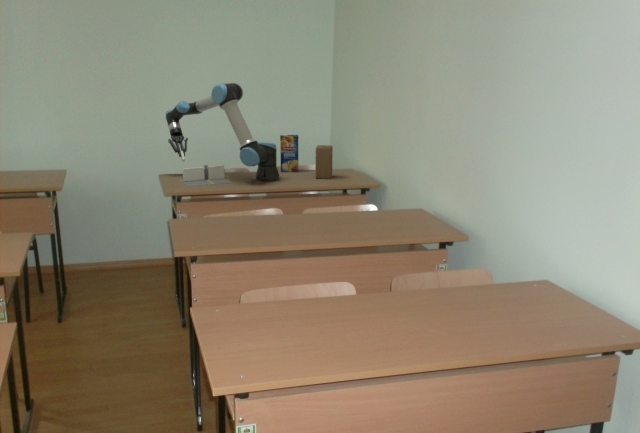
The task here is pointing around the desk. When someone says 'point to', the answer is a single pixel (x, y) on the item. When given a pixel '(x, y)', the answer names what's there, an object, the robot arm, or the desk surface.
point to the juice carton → (289, 153)
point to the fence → (214, 172)
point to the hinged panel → (193, 174)
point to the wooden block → (324, 161)
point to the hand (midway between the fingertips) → (183, 160)
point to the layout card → (205, 182)
